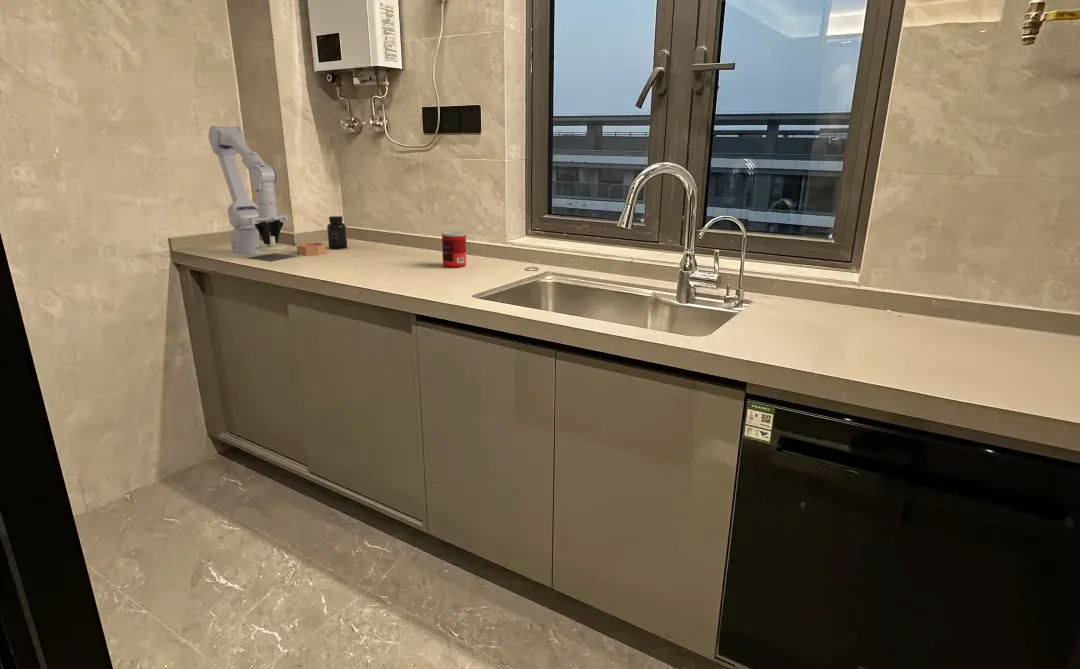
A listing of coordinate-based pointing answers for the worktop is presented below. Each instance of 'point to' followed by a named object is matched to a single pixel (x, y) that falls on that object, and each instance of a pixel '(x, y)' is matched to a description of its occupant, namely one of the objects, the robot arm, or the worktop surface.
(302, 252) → the bowl
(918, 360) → the worktop surface
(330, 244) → the supplement bottle
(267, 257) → the mat
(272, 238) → the lid
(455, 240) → the canned food
